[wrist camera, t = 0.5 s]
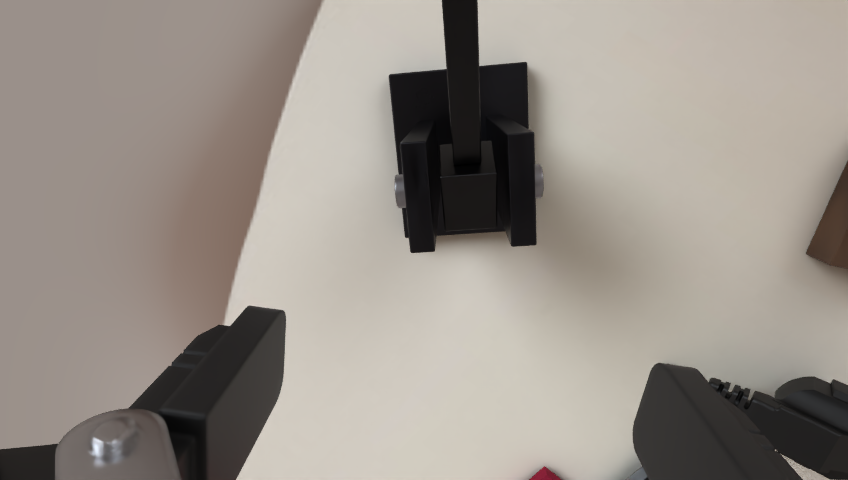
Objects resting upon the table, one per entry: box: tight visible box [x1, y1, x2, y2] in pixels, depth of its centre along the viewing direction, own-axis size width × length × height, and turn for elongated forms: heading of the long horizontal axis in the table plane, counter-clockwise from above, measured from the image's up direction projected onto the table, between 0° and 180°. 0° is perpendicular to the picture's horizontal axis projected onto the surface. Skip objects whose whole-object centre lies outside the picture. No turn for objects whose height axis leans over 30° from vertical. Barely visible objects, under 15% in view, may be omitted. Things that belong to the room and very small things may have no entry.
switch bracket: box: [389, 62, 544, 253], centre depth 25 cm, size 10×8×13 cm
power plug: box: [669, 364, 848, 480], centre depth 34 cm, size 6×8×12 cm
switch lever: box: [439, 0, 497, 231], centre depth 17 cm, size 13×3×3 cm, turn 4°
